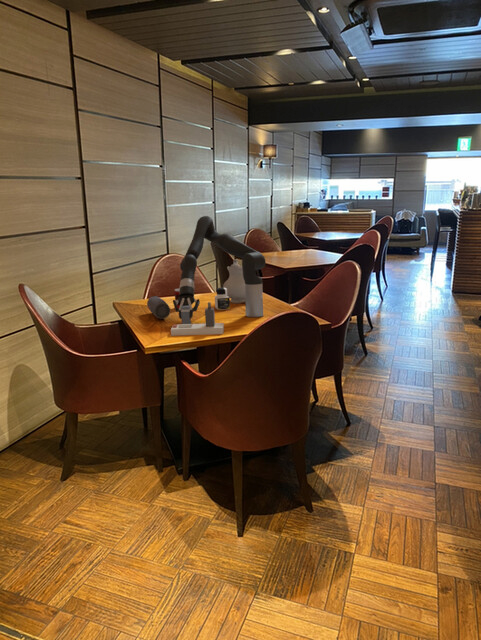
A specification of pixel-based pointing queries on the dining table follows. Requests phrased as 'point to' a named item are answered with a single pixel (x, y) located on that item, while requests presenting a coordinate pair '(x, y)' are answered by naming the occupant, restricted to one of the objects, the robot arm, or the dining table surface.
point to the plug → (185, 314)
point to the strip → (200, 326)
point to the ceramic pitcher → (235, 283)
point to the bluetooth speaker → (158, 307)
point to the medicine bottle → (222, 299)
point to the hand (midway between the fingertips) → (185, 317)
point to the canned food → (177, 296)
